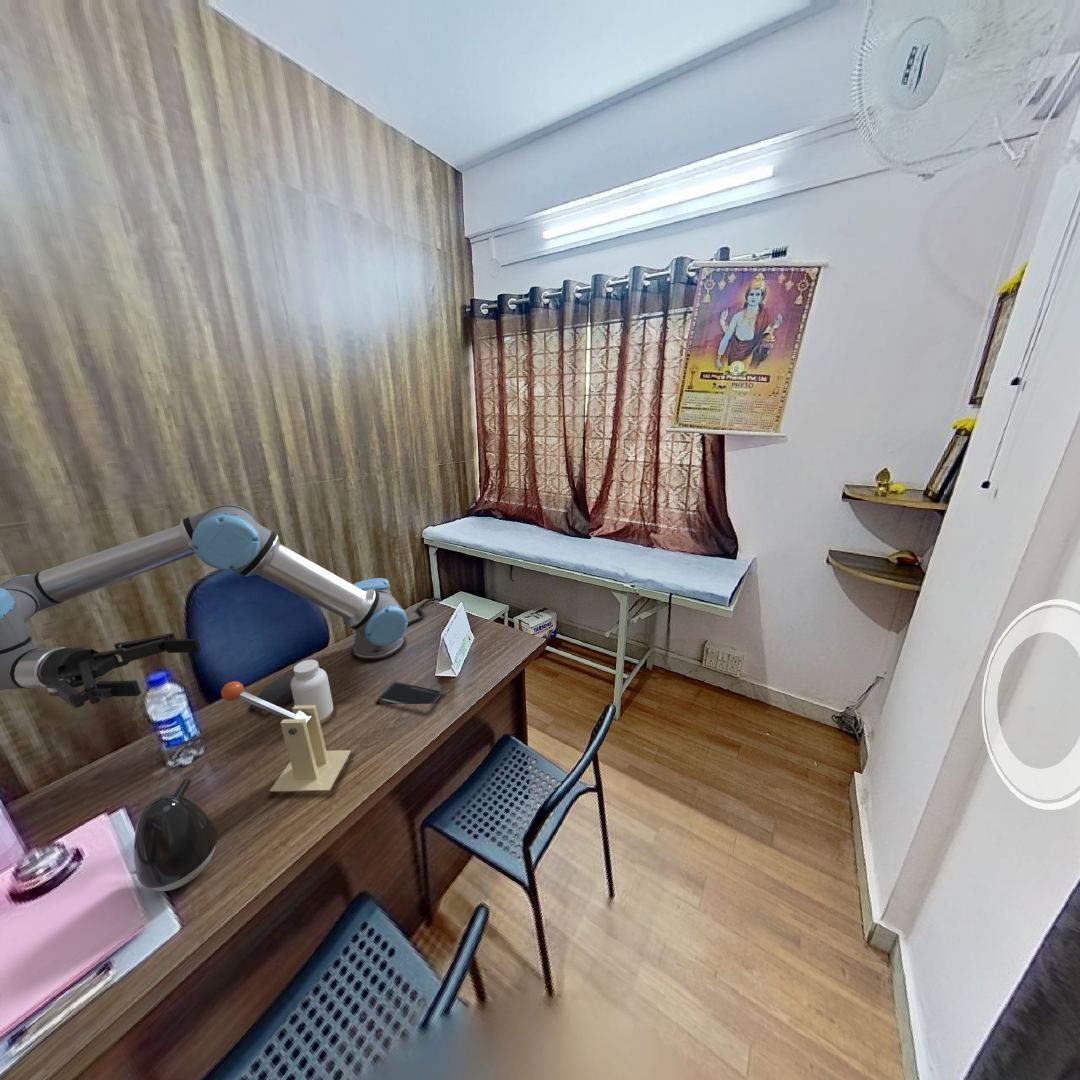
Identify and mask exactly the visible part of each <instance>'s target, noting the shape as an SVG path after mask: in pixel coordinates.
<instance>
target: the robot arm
mask: <svg viewBox="0 0 1080 1080" xmlns="http://www.w3.org/2000/svg"><path fill="white" fill-rule="evenodd" d="M194 555H196V556H197V558H198V559H199V560H200V561H201V562H202V563H204V564H205V565H207V566H209V567H211V568H214V569H215V570H216V569H217V570H222V571H232V572H235V573H237V574H239V575H241V576H243V577H250V576H256V575H257V576H259V577H261V578H263V579H265V580H267V581H269V582H271V583H273V584H275V585H277V586H279V587H281V588H283V589H285V590H287V591H289V592H292V593H293V594H295V595H297V596H299V597H301V598H303V599H305V600H306V601H307V600H308V601H309V602H311V603H313V604H316V605H317V606H319V607H321V608H323V609H325V610H327V611H329V612H331V613H333V614H335V615H338V616H339V617H341V618H343V619H344V620H345V621H344V622H345V624H346V626H347V627H348V628H350V629H352V630H354V631H355V636H354V642H353V646H352V651H353V655H354V656H355V658H356V659H358V660H359V661H360V660H361V661H366V662H367V661H368V662H372V661H373V662H374V661H380V660H384V659H386V658H387V659H388V658H389V657H392V656H393V655H396V654H397V653H398V652H400V651H401V650H402V648H403V647H404V645H405V640H404V634H405V633H406V631H407V628H408V626H409V625H411V624H414V623H417V622H419V621H420V620H422V619H424V617H425V612H424V611H423V610H421V608H422V607H424V606H425V605H426V604H428V603H430V602H431V603H432V602H435V601H438V602H442V598H439V597H431V598H429V599H427V600H425V601H423V602H422V603H423V604H422V603H420V604H421V605H420V604H419V605H418V606H417V611H418V612H419V614H420V616H419V617H417V618H414V619H411V620H409V619H408V616H407V613H406V611H405V609H404V608H403V607H402V606H401V605H400V603H399V602H398V601H397V600H396V598H395V597H394V596H393V595H392V591H391V585H390V582H389V580H388V579H387V578H383V577H377V578H376V577H375V578H369V579H364V580H360V581H357V582H355V583H351V582H350V581H347V580H345V579H344V578H342V577H341V576H339V575H336V574H335V573H333V572H331V571H329V570H327V569H326V568H324V567H322V566H321V565H319V564H317V563H316V562H314V561H312V560H310V559H308V558H306V557H304V556H303V555H301V554H299V553H297V552H296V551H293V550H292V549H290V548H289V547H287V546H285V545H283V544H281V542H280V538H279V535H278V534H277V533H276V532H274V531H272V530H270V529H268V528H267V527H265V526H263V525H261V524H259V522H258V520H257V519H256V517H255V515H254V514H253V513H252V512H250V511H249V510H248V509H246V508H245V507H243V506H239V505H236V504H219V505H216V506H214V507H211V508H207V509H206V510H204V511H202V512H199V513H196V514H194V515H190V516H188V517H185V518H182V519H181V520H180V522H179V524H178V525H174V526H173V527H169V528H166V529H163V530H161V531H158V532H154V533H152V534H148V535H145V536H142V537H139V538H136V539H134V540H130V541H127V542H125V543H122V544H118V545H115V546H113V547H110V548H107V549H104V550H101V551H98V552H95V553H92V554H89V555H86V556H83V557H80V558H77V559H74V560H71V561H68V562H65V563H61V564H59V565H57V566H53V567H50V568H48V569H44V570H42V571H39V572H35V573H31V574H21V575H18V576H15V577H13V578H10V579H9V580H5V581H4V582H2V583H1V584H0V691H4V690H16V689H26V690H27V689H28V690H29V689H30V690H31V689H46V690H47V692H48V694H49V696H51V697H59V698H60V699H62V700H63V701H65V702H66V703H67V704H69V705H70V706H71V707H73V708H75V709H78V708H80V707H83V706H84V705H85V702H87V701H89V703H90V705H95V704H98V703H100V702H101V699H109V698H115V697H116V698H117V697H120V698H121V697H139V696H140V695H142V691H141V688H140V686H139V683H138V680H103V681H102V680H101V681H98V682H97V680H96V679H97V678H100V677H104V676H105V675H107V674H108V673H109V672H111V671H112V670H115V669H119V668H122V667H125V666H128V665H129V663H130V662H134V661H138V660H140V659H143V658H147V657H150V656H153V655H157V654H160V653H164V652H166V653H167V654H181V653H183V654H185V653H199V652H201V651H202V648H201V645H200V642H199V639H198V638H178V639H177V638H176V636H175V635H176V634H175V633H174V632H170V633H165V634H160V635H155V636H150V637H145V638H141V639H136V640H130V641H121V642H120V641H119V642H116V643H114V644H113V646H114V649H112V650H106V651H97V650H95V649H93V648H90V647H87V646H76V647H75V646H73V647H70V646H69V647H67V646H66V647H64V646H61V647H36V646H35V644H34V643H33V642H34V641H33V639H32V637H31V635H30V632H29V630H28V629H27V625H26V623H27V622H28V621H29V620H30V619H31V618H32V617H33V616H35V615H36V614H37V613H38V612H41V611H43V610H45V609H48V608H51V607H53V606H56V605H59V604H62V603H64V602H66V601H67V602H68V601H70V600H73V599H75V598H78V597H81V596H84V595H86V594H88V593H92V592H95V591H97V590H100V589H103V588H105V587H108V586H112V585H113V584H116V583H119V582H122V581H125V580H127V579H130V578H133V577H136V576H138V575H141V574H144V573H146V572H149V571H152V570H155V569H157V568H160V567H163V566H166V565H169V564H171V563H175V562H177V561H180V560H182V559H185V558H188V557H191V556H194ZM119 656H120V659H121V661H120V660H119V659H118V657H119ZM79 687H83V690H82V691H79V690H77V689H76V688H79Z"/></svg>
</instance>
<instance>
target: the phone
mask: <svg viewBox="0 0 1080 1080" xmlns="http://www.w3.org/2000/svg"><path fill="white" fill-rule="evenodd" d="M441 698H442V693H441V691H440V690H436V689H433V688H428V687H423V686H418V685H413V684H410V683H405V682H400V681H395V682H393V683H391V685H390V686H389V687H388V688H387V689H386V690H385V691H383V693H381V694H380V695H379V697H378V703H379V704H380V705H432V704H433V705H434V704H435V705H436V704H437V703H438V702H439V700H441Z"/></svg>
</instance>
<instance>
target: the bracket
mask: <svg viewBox="0 0 1080 1080" xmlns="http://www.w3.org/2000/svg"><path fill="white" fill-rule="evenodd" d="M291 710H292V713H294V714H296V713H297V712H298V711H299V710H300V711H302V712H304V713H306V714H309V715H311V716H312V717H311V719H310V721H309V722H308V724H306V720H305V719H284V718H282V720H281V721H280V728H281V731H282V736H283V738H284V742H285V746H286V750H287V753H288V758H289V762H288V764H287V765H286V767H285V768H284V769H283V771H282V772H281V774H280V775H279V776H278V778H277V779H276V781H275V782H274V784H273V785H272V786H271V788H269V792H270V793H271V792H272V793H274V792H275V793H277V792H278V793H279V792H280V793H281V792H330V790H331V789H332V786H334V783H335V782H336V780H337V778H338V776H339V774H340V772H341V771H342V769H343V767H344V765H345V764H346V761H347V760H348V758H349V756H350V755H351V753H352V750H351V749H347V750H345V749H344V750H327V748H326V743H325V738H324V734H323V730H322V726H321V721H319V716H318V712H317V708H316V705H295V704H294V706H293V707H292V708H291Z"/></svg>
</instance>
